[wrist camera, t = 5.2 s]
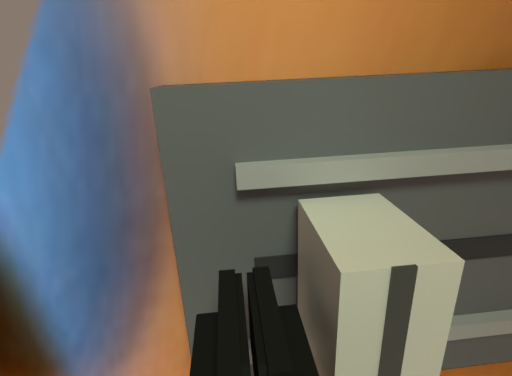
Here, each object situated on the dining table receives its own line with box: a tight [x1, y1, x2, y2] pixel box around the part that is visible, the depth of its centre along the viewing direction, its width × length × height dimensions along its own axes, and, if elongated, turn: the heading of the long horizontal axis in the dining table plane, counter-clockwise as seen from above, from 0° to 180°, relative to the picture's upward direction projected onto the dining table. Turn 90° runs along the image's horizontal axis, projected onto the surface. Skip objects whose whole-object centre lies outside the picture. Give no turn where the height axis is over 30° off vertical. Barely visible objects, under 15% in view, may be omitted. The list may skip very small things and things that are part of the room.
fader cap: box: [298, 193, 465, 376], centre depth 10 cm, size 6×3×4 cm, turn 3°
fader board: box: [150, 69, 512, 376], centre depth 14 cm, size 14×28×3 cm, turn 93°
